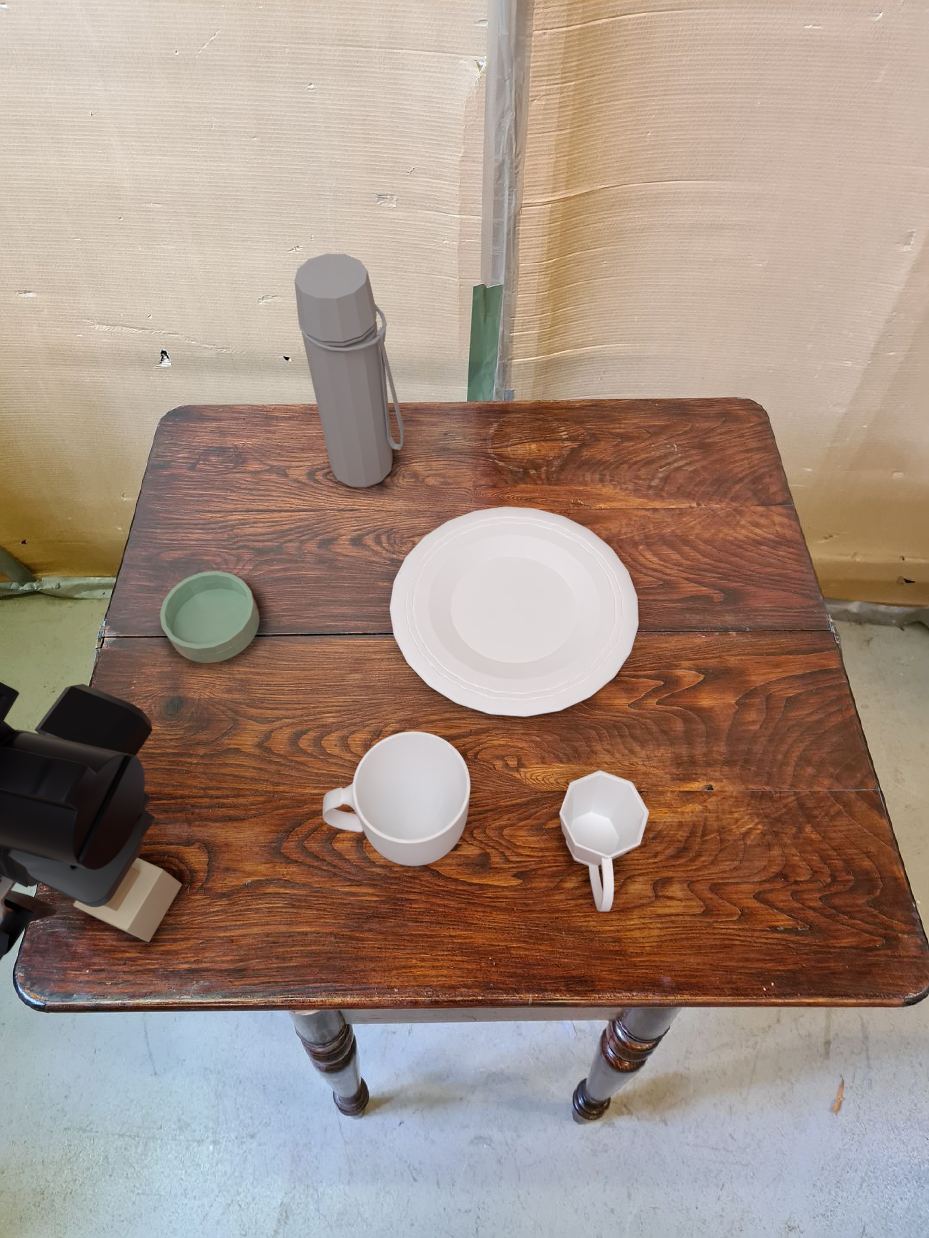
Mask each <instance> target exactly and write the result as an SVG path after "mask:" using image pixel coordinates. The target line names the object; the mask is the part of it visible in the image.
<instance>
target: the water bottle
mask: <svg viewBox="0 0 929 1238" xmlns="http://www.w3.org/2000/svg"><path fill="white" fill-rule="evenodd" d="M370 280H371V279H370V276H369V272H368V269H367V268H366V266H365V265H364V264H363V262H362V261H361V260H360V259H358V258H355V257H353V256H351V255H348V254H344V253H324V254H321V255H317V256H314V257H311V258H309V259H307V260H305V262H304V263H302V264H301V265H300V266H299V267H298V268H296V273H295V277H294V289H295V301H296V309H297V319H298V327H299V330H300V331H301V336H302V341H303V345H304V351H305V355H306V358H307V364H308V369H309V374H310V378H311V382H312V387H313V392H314V396H315V402H316V405H317V411H318V415H319V420H320V424H321V429H322V434H323V438H324V443H325V448H326V452H327V458H328V463H329V466H330V470H331V472H332V473H333V475H334V477H335V478H336V480H337V481H339V482H341V483H343V484H345V485H347V486H348V487H350V488H370V487H372V486H374V485H377V484H380V483H381V482H382V481H383V480H384V479H385V478H386V477H387V476H388V475H389V474H390V473H391V472H392V464H393V451H392V449H393V450H399V451H401V450H402V447H403V445H404V442H405V426H404V422H403V418H402V414H401V409H400V406H399V405H400V404H399V400H398V396H397V393H396V388H395V383H394V379H393V375H392V371H391V367H390V363H389V359H388V354H387V350H386V347H385V346H386V345H385V342H386V335H387V325H388V324H387V320H386V317H385V314H384V312H383V311H382V310H381V309H380V307H379V306H378V305H377V304H376V301H375V298H374V293H373V290H372V285H371V281H370ZM377 313H378V314H377ZM378 315H379V316H380V319H381V323H382V324H381V326H380V327H379V328H378V321H377V316H378ZM387 380H388V385H389V389H390V393H391V397H392V403H393V407H394V411H395V416H396V420H397V423H398V428H399V432H400V443H395V441H394V439H393V436H392V432H391V420H390V409H389V408H390V407H389V397H388V385H387Z"/></svg>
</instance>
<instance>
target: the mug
mask: <svg viewBox="0 0 929 1238" xmlns="http://www.w3.org/2000/svg"><path fill="white" fill-rule="evenodd" d="M470 795H471V776H470V773H469V769H468V766H467V764H466V762H465V759H464V758H463V756H462V755H461V754H460V752H459V751H458V750H457V748H455V747H454V746H453V745H452V744H451V743H450V742H448V741H447V740H445V739H444V738H442V737H440V736H438V735H436V734H433V733H429V732H424V731H416V730H415V731H412V730H411V731H404V732H403V731H402V732H399V733H394V734H391V735H389V736H387V737H385V738H383V739H381V740H380V741H378V742H377V743H375V744H374V745H373V746H372V747H370V748H369V750H368V751H367V752H366V753H365V754H364V756H363V757H362V758H361V760H360V762H359V763H358V765H357V767H356V769H355V772H354V775H353V781H352V783H350V785H348V786H347V787H341V786H340V787H337V788H334V789H331V790H329V791H327V792H326V793H325V794H324V796H323V800H322V820H323V821H324V822H325V823H326V824H328V825H330V826H331V827H333V828H336V829H339V830H344V831H348V832H355V833H364V835H365V837H366V839H367V840H368V842H369V844H370V845H371V846H372V847H373V849H374V850H375V851H377V853H378V854H379V855H381V856H382V857H383V858H385V859H387V860H389V862H393V863H395V864H398V865H403V866H407V867H419V866H425V865H428V864H432V863H434V862H437V861H438V860H440V859H442V858H443V857H445V856H446V855H447V854H449V853H450V852H451V850H453V848H454V847H455V846H456V845H457V844H458V842H459V841H460V839H461V837H462V835H463V833H464V830H465V828H466V823H467V820H468V814H469V807H470ZM342 805H346V806H348V807H351V809H353V811H354V812H355V813H354V812H353V813H351V812H348V811H343V810H339V809H336V808H339V807H341V806H342Z"/></svg>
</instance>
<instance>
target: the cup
mask: <svg viewBox="0 0 929 1238" xmlns="http://www.w3.org/2000/svg"><path fill="white" fill-rule="evenodd" d="M649 814H650V811H649V809H648V807H647V806H646V804H645V802H644V800H643V798H642V797H641V795H640V793H639V792H638V790H637V788H636V786H635V784H634V782H633V781H630V780H627V779H625V778H622V777H621V776H617V775H614V774H611V773H610V772H609V773H608V772H606V771H604V770H601V769H599V770H597V771H595V772H592V773H590V774H588V775H585V776H582V777H580V778H578V779H576V780H573V781H570V782H569V785H568V787H567V790H566V793H565V796H564V799H563V802H562V805H561V808H560V810H559V813H558V815H559V820H560V826H561V832H562V834H563V836H564V838H565V844H566V846H567V848H568V851H569V853H570V854H571V856H572V858H573V860H574V861H575V862H578V863H580V864H583V865H585V866H588V872H589V873H588V874H589V880H590V886H591V891H592V895H593V901H594V904H595V907H596V910H597V911H598V912H610V911H611V909H612V907H613V906H612V905H613V902H614V893H615V881H614V880H615V879H614V877H615V876H614V868H613V867H614V866H613V860H614V859H617V858H619V857H621V856H623V855H625V854H626V853H628V852H629V851H631V850H633V849H635V848H637V847H638V846H640V845H641V843H642V839H643V836H644V832H645V830H646V825H647V822H648V818H649ZM599 866H601V872H602V882H603V883H602V882H601V878H600V870H599Z"/></svg>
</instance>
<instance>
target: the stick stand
mask: <svg viewBox="0 0 929 1238" xmlns="http://www.w3.org/2000/svg"><path fill="white" fill-rule="evenodd" d="M132 867H133V868H135V869H136V870H137V871H139V872H140V874H139V876H138V877H137V879H136V881H135V882H134V884H133V886H132V887H131V889H130V891H129V892H128V894H127V895H126V897H125V899H124V900H123V902H122V904H121V905H120V907H119V909H118V910H117V911H114V910H112V909H110V908H108V907H106V906H100V907H90V906H87V905H85V904H83V903H81V902H79V901H76V900H74V903H73V907H75V908H76V909H78V910H80V911H82V912H84V913H86V914H88V915H90V916H92V917H94V918H96V919H97V920H100V921H102V922H104V923H107V924H108V925H110V926H112V927H114V928H117V929H119V930H121V931H123V932H125V933H127V934H129V935H132V936H134V937H137V938H138V939H140V940H142V941H145V942H147V943H150V941H151V940H152V938H153V936H154V934H155V933H156V931H157V929H158V927H160V924H161V922H162V921H163V919H164V917H165V915H166V914H167V912H168V910H169V908H170V907H171V905H172V903H173V902H174V899H175V898H176V897H177V895H178V893H179V891H180V889H181V888H182V886H183V884H182V883H181V882H180V881H179V880H178V879H176V878H175V877H174V876H172V875H171V874H170V873H168V871H166V870H165V869H163V868H161V867H159V866H157V865H154V864H152V863H150V862H148V861H146V860H143V859H142V858H139V857H137V859H136V860H135V861H134V863H133V864H132Z"/></svg>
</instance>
